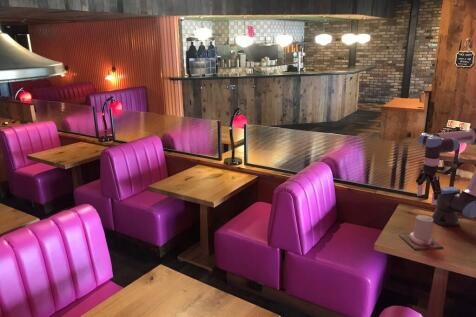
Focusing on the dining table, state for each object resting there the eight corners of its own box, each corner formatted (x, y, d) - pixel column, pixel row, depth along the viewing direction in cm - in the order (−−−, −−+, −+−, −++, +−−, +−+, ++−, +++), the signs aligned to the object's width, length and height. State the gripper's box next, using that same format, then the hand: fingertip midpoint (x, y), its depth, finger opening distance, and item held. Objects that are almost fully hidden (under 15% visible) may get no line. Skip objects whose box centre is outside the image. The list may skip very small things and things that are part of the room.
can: (432, 241, 224) (435, 221, 221) (415, 239, 226) (417, 220, 222) (428, 233, 233) (431, 214, 229) (411, 232, 234) (414, 213, 231)
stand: (425, 234, 239) (426, 229, 238) (442, 248, 223) (443, 242, 222) (399, 235, 237) (399, 230, 236) (414, 250, 221) (415, 244, 220)
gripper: (411, 158, 232) (408, 192, 238) (438, 172, 208) (433, 209, 214) (423, 157, 233) (419, 191, 239) (451, 171, 209) (446, 208, 215)
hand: (426, 199), depth 226 cm, fingers open, 13 cm apart
